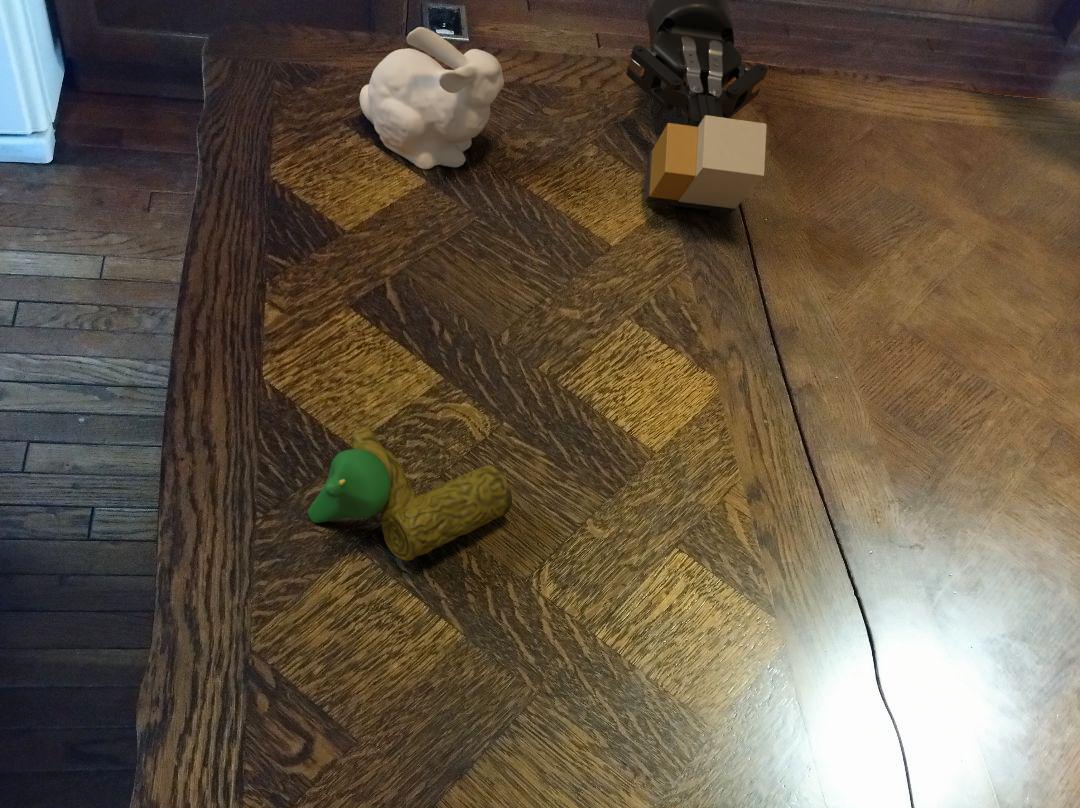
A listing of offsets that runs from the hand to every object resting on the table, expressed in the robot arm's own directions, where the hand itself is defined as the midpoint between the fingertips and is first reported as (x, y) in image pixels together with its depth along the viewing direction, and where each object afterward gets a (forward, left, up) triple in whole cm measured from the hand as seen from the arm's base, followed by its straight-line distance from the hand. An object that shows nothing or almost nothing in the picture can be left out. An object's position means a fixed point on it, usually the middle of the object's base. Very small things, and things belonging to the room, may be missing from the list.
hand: (706, 133), depth 83 cm
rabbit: (+22, -6, -7) cm, 24 cm away
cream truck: (0, 0, -6) cm, 6 cm away
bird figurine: (+30, +34, -7) cm, 46 cm away
